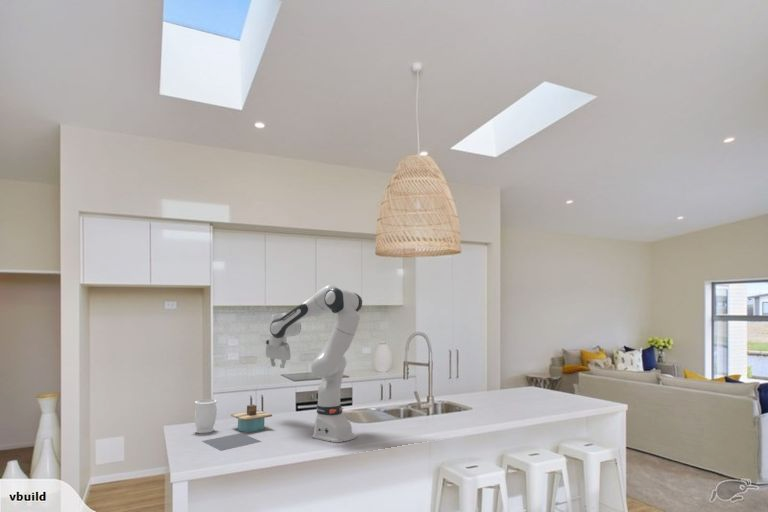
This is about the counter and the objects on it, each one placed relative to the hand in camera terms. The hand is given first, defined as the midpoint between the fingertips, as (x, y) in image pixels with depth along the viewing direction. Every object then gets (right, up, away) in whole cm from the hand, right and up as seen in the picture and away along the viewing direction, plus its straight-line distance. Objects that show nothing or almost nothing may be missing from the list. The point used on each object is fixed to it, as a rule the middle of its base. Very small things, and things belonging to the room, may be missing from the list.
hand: (277, 367), depth 265 cm
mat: (-12, -25, -42) cm, 50 cm away
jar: (-32, -27, -23) cm, 48 cm away
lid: (-9, -21, -18) cm, 29 cm away
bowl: (-10, -28, -19) cm, 35 cm away
